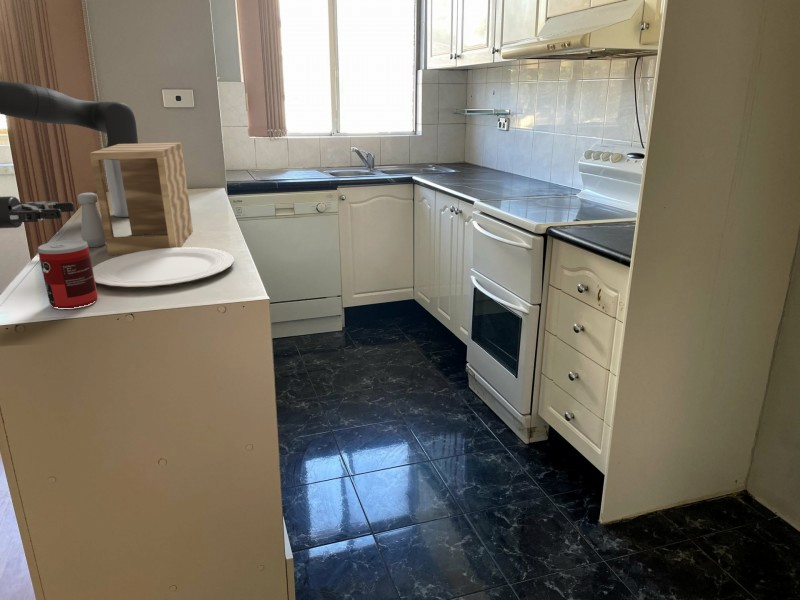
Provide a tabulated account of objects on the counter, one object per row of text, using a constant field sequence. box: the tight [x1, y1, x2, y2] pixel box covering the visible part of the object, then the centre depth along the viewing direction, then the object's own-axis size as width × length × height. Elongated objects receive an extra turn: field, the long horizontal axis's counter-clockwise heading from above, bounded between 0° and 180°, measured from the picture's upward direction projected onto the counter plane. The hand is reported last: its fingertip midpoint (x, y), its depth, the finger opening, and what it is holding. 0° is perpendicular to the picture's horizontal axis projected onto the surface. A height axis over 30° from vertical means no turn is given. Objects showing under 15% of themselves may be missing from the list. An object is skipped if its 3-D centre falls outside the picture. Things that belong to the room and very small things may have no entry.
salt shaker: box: [76, 192, 106, 248], centre depth 148 cm, size 6×6×13 cm
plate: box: [92, 246, 235, 289], centre depth 128 cm, size 29×29×2 cm
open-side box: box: [89, 142, 194, 256], centre depth 148 cm, size 22×16×24 cm
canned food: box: [37, 239, 99, 308], centre depth 107 cm, size 8×8×11 cm
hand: (67, 210), depth 146 cm, fingers open, 8 cm apart
